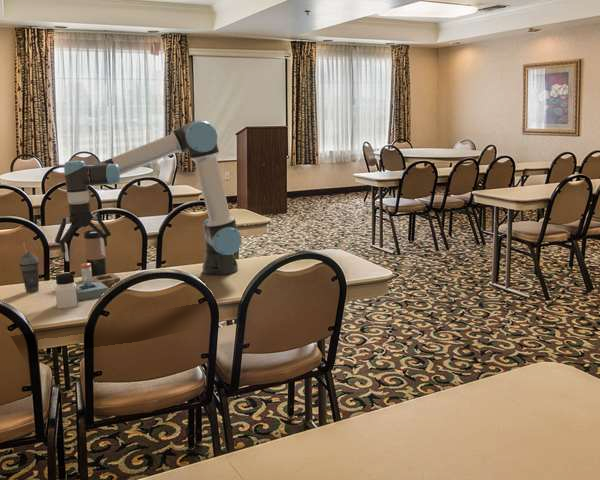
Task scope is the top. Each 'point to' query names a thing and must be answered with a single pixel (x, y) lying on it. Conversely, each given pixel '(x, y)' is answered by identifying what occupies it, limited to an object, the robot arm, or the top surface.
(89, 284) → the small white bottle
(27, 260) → the beverage cup
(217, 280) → the top surface
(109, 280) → the mount
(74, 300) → the medicine bottle
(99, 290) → the socket
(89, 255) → the travel mug
